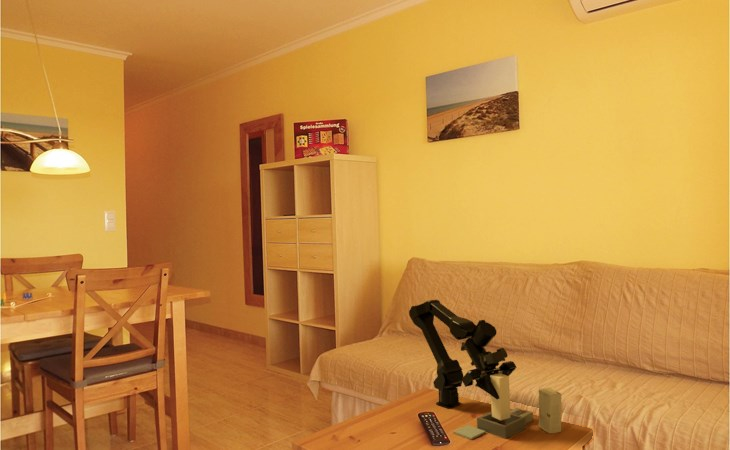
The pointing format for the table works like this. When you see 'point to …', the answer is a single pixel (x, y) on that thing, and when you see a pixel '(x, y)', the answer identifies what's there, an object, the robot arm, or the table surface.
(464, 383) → the robot arm
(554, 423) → the skincare box
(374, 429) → the table surface
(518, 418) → the grey green open tray
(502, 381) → the cream rectangular block
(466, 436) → the rubber mat
